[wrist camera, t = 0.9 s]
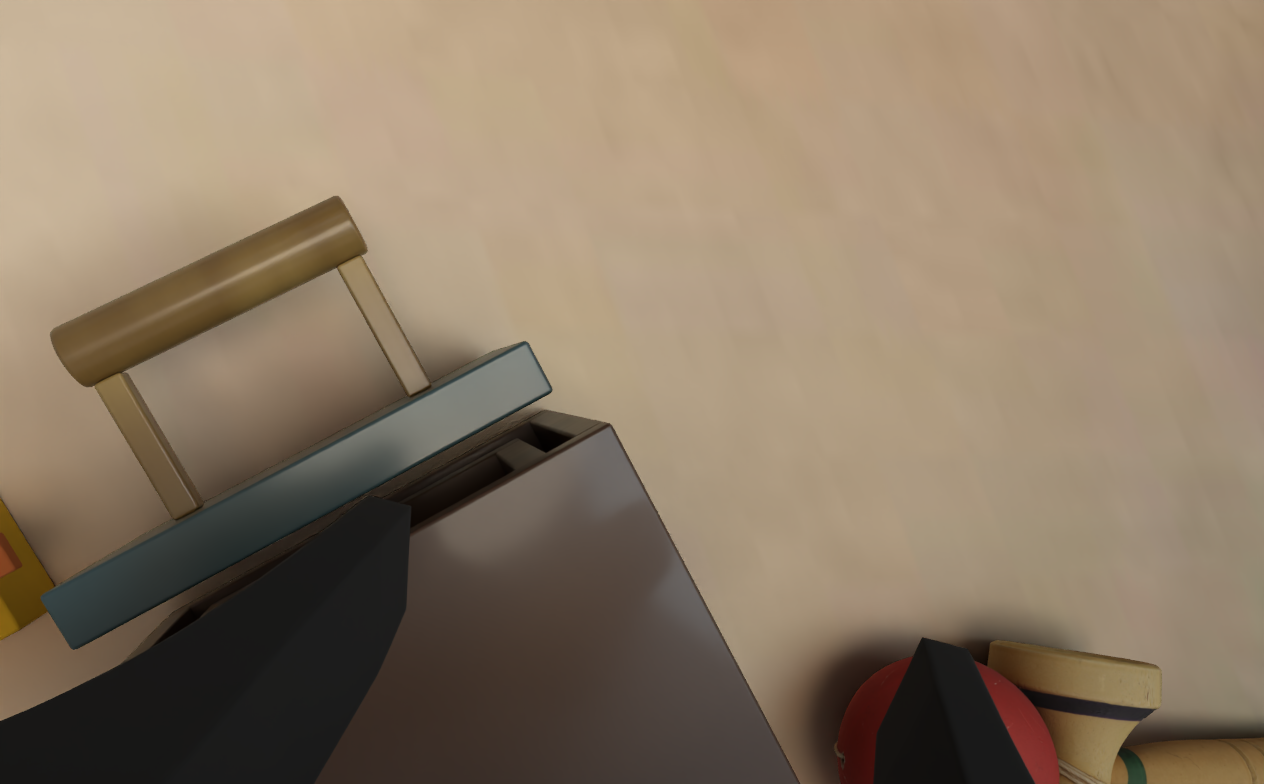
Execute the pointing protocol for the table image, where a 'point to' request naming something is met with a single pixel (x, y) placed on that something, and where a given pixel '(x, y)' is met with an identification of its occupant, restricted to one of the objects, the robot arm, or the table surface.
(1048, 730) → the kendama
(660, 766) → the cabinet
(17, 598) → the duck
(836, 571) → the table surface
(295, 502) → the drawer
